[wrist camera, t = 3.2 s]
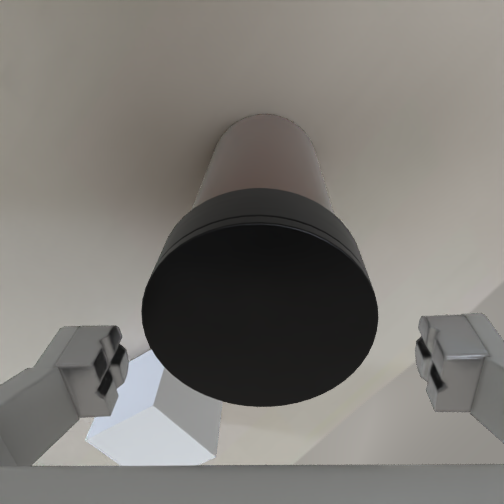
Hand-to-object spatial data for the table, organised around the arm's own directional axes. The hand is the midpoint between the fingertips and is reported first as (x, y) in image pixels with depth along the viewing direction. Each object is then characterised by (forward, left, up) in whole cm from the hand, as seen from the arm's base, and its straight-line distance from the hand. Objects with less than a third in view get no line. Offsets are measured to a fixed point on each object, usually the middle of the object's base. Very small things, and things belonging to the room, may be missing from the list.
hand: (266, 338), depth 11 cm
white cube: (+13, -13, -14) cm, 23 cm away
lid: (0, 0, -1) cm, 1 cm away
